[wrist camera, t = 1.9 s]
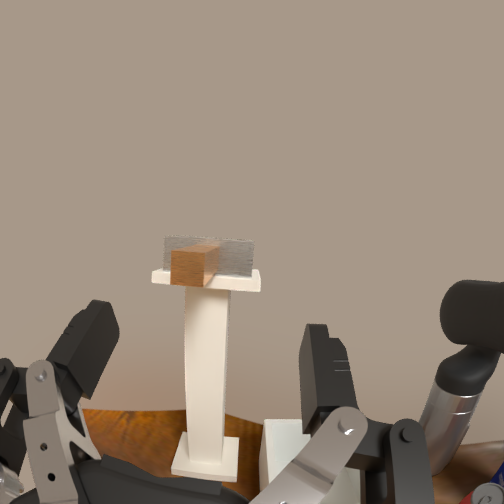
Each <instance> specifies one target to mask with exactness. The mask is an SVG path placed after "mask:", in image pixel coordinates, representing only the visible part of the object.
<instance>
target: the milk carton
mask: <svg viewBox="0 0 504 504" xmlns="http://www.w3.org/2000/svg"><path fill="white" fill-rule="evenodd" d="M489 483H496V484H499V485H500V486H502V487H503V488H504V462H503V464H502V465H501V467H500V468H499V470H498V471H497V472H496V474H495V475H494V477H493V478H492V479H491V481H490V482H489Z"/></svg>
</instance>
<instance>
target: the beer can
mask: <svg viewBox="0 0 504 504" xmlns="http://www.w3.org/2000/svg"><path fill="white" fill-rule="evenodd" d="M459 504H504V488H503V487H502V486H500V485H499V484H496V483H484V484H481V485H479V486H478V487H477V488H476V489H475V490H474V491H472V492H470V493H469V494H468V495H467V496H466V497H465V498H464V499H462V501H461V502H460V503H459Z"/></svg>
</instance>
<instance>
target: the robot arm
mask: <svg viewBox="0 0 504 504" xmlns="http://www.w3.org/2000/svg"><path fill="white" fill-rule="evenodd" d="M440 322H441V327H442V329H443V332H444V334H445V335H446V337H447V338H448V339H449V340H450V341H451V342H453V343H455V344H461V345H467V346H466V347H465V348H464V349H462V350H461V351H460V352H458V353H457V354H454V355H452V356H450V357H448V358H446V359H445V360H443V361H442V362H441V363H440V365H439V367H438V370H437V373H436V376H435V379H434V382H433V385H432V388H431V391H430V394H429V397H428V400H427V402H426V405H425V408H424V410H423V413H422V415H421V418H420V420H419V422H416V421H414V420H412V419H402V420H399V421H397V422H396V423H395V424H394V425H392V424H386V423H381V422H376V421H373V420H370V419H368V418H367V417H365V415H364V414H363V413H362V412H361V411H360V410H359V408H358V406H357V401H356V396H355V391H354V385H353V380H352V375H351V371H350V366H349V362H348V357H347V352H346V348H345V346H344V345H343V344H342V342H341V341H340V340H339V338H329V333H328V328H327V325H326V324H307V325H306V328H305V332H304V336H303V340H302V343H301V347H300V352H299V371H300V388H301V389H300V391H301V409H302V410H301V411H302V434H310V437H311V439H310V440H309V442H308V443H307V444H306V445H305V446H304V448H303V449H302V450H301V451H300V452H299V454H298V455H297V456H296V457H295V458H294V459H293V460H292V461H291V462H290V463H289V464H288V465H287V466H286V467H285V468H284V469H283V470H282V471H281V472H280V473H279V474H278V475H277V476H276V477H275V478H274V479H273V480H272V482H271V483H270V484H269V485H268V486H267V487H266V488H265V489H264V490H262V491H261V492H260V493H259V494H258V495H257V496H256V497H255V498H254V499H253V500H252V501H251V502H250V501H249V500H248V499H247V498H245V497H244V496H243V495H241V494H239V493H237V492H236V491H233V490H231V489H229V488H226V487H223V486H222V482H219V481H211V480H204V479H198V478H192V477H180V478H159V477H155V476H153V475H151V474H149V473H147V472H145V471H144V470H142V469H140V468H138V467H136V466H135V465H133V464H131V463H129V462H126V461H123V460H120V459H117V458H114V457H111V456H108V455H105V454H104V455H103V458H102V459H101V457H100V455H99V453H98V451H97V450H96V448H95V447H94V445H93V443H92V441H91V439H90V436H89V433H88V430H87V426H86V423H85V420H84V416H83V412H82V409H81V405H80V403H79V400H80V398H81V397H84V398H87V399H89V400H90V399H91V397H92V395H93V392H94V390H95V388H96V386H97V384H98V381H99V379H100V377H101V375H102V373H103V371H104V368H105V366H106V364H107V362H108V360H109V358H110V356H111V354H112V352H113V350H114V348H115V346H116V344H117V342H118V339H119V326H118V323H117V321H116V317H115V315H114V312H113V309H112V306H111V304H110V303H109V302H105V301H99V300H92V301H91V302H90V304H89V305H88V306H87V308H86V309H85V310H81V311H80V312H79V313H78V314H76V315H75V316H74V317H73V318H72V320H71V321H70V323H69V324H68V327H66V329H65V330H64V333H63V334H62V335H61V336H60V338H59V340H58V341H57V343H56V344H55V346H54V347H53V349H52V350H51V352H50V354H49V355H48V357H47V358H46V360H38V361H36V362H34V363H32V364H31V365H30V366H29V368H20V367H15V366H14V365H13V363H12V362H11V361H10V360H9V359H7V358H2V359H0V419H1V416H2V413H3V411H4V409H5V407H6V405H7V402H8V400H10V401H11V402H12V403H13V406H12V408H11V410H10V413H9V415H8V417H7V420H6V422H5V425H4V427H2V426H1V422H0V504H319V503H320V502H321V501H322V499H323V498H324V497H325V496H326V494H327V493H328V492H329V490H330V489H331V487H332V486H333V482H334V480H335V479H336V477H337V476H338V474H339V473H340V472H341V470H342V469H343V467H347V468H352V469H358V470H360V504H435V501H434V491H433V482H432V476H434V475H436V474H438V473H440V472H441V471H442V470H443V469H444V467H445V465H447V464H449V463H450V461H451V459H452V458H453V456H454V454H455V453H456V451H457V449H458V447H459V446H460V444H461V442H462V440H463V438H464V436H465V434H466V432H467V431H468V429H469V426H470V424H469V422H470V420H471V418H472V415H473V413H474V411H475V408H476V407H477V404H478V402H479V399H480V397H481V394H482V392H483V389H484V387H485V384H486V382H487V381H488V380H489V378H490V377H491V376H492V374H493V372H494V370H495V368H496V365H497V363H498V360H499V357H500V354H501V353H503V354H504V282H501V283H499V282H490V281H476V280H462V281H459V282H457V283H455V284H454V285H453V286H452V287H450V289H449V290H448V291H447V293H446V294H445V296H444V298H443V300H442V303H441V308H440ZM26 451H27V452H28V457H29V462H30V466H31V470H32V474H33V478H34V482H35V485H36V488H34V489H32V490H30V491H28V492H26V493H25V494H23V495H20V493H22V492H23V491H24V486H23V484H22V483H21V482H20V481H19V478H18V477H19V473H20V470H21V467H22V463H23V460H24V457H25V454H26Z"/></svg>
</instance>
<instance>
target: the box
mask: <svg viewBox="0 0 504 504" xmlns="http://www.w3.org/2000/svg"><path fill="white" fill-rule="evenodd" d="M310 439H311V437H310V434H302V419H285V420H283V419H282V420H281V419H264V425H263V433H262V441H261V448H260V455H259V483H260V492H261V491H262V490H264V489H265V488H266V487H267V486H268V485H269V484H270V483H271V482H272V480H273V479H274V478H275V477H276V476H277V475H278V474H279V473H280V472H281V471H282V470H283V469H284V468H285V467H286V466H287V465H288V464H289V463H290V462H291V461H292V460H293V459H294V458H295V457H296V456H297V455H298V454H299V452H300V451H301V450H302V449H303V448H304V446H305V445H306V444H307V443H308V442H309V440H310ZM319 504H360V470H358V469H352V468H347V467H343V469H342V470H341V472H340V473H339V474H338V476H337V477H336V479H335V480H334V482H333V486H332V487H331V489H330V490H329V492H328V493H327V494H326V496H325V497H324V498H323V499H322V501H321V502H320V503H319Z"/></svg>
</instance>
